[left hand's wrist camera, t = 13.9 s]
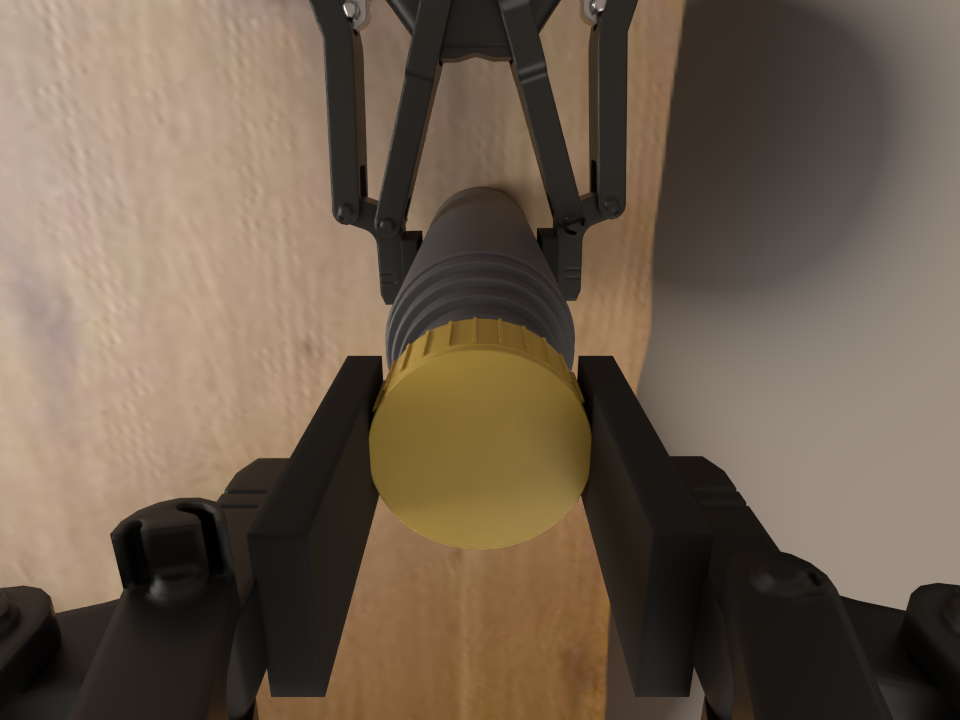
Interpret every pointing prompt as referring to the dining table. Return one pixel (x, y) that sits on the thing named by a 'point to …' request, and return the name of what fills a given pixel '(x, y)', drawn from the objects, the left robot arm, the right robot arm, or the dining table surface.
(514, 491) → the cap
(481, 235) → the bottle
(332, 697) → the dining table surface
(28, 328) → the dining table surface
